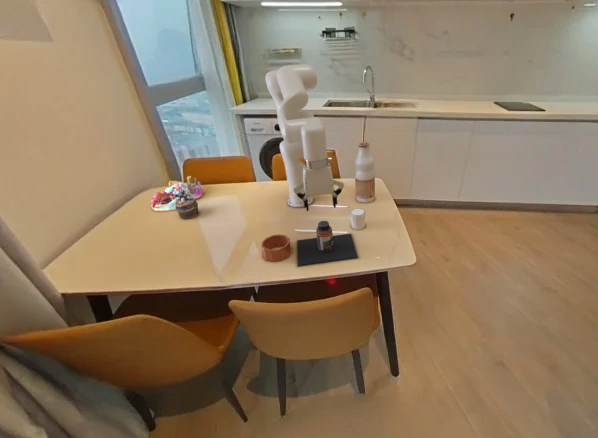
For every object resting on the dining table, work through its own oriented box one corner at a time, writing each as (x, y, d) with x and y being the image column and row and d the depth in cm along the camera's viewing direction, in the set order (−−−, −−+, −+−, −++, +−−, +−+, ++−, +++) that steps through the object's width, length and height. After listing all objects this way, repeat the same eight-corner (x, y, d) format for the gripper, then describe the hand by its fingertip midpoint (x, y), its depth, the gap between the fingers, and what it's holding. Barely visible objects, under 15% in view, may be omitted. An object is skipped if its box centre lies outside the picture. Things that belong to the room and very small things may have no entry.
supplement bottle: (318, 244, 124) (315, 219, 118) (333, 243, 124) (331, 218, 119) (318, 253, 119) (315, 228, 113) (333, 252, 119) (331, 226, 113)
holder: (264, 246, 125) (262, 236, 122) (291, 243, 126) (289, 233, 124) (262, 263, 116) (260, 252, 114) (291, 259, 117) (289, 248, 115)
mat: (297, 241, 127) (297, 240, 127) (351, 234, 130) (351, 233, 130) (297, 266, 114) (297, 265, 113) (357, 258, 117) (357, 256, 116)
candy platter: (157, 194, 171) (151, 178, 166) (204, 185, 178) (199, 170, 173) (150, 215, 151) (143, 197, 146) (203, 204, 158) (198, 188, 153)
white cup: (364, 230, 132) (364, 216, 129) (348, 229, 134) (347, 215, 130) (367, 222, 138) (367, 208, 134) (352, 221, 139) (351, 207, 136)
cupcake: (173, 218, 147) (166, 199, 142) (190, 208, 155) (183, 190, 150) (189, 221, 144) (182, 202, 139) (205, 211, 152) (199, 192, 147)
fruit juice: (361, 204, 152) (359, 148, 137) (352, 197, 159) (350, 142, 145) (378, 200, 155) (378, 144, 141) (369, 193, 163) (368, 139, 148)
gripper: (340, 156, 108) (343, 200, 117) (289, 160, 106) (296, 205, 115) (343, 164, 102) (346, 209, 111) (289, 169, 100) (296, 215, 109)
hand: (321, 207), depth 113 cm, fingers open, 9 cm apart
